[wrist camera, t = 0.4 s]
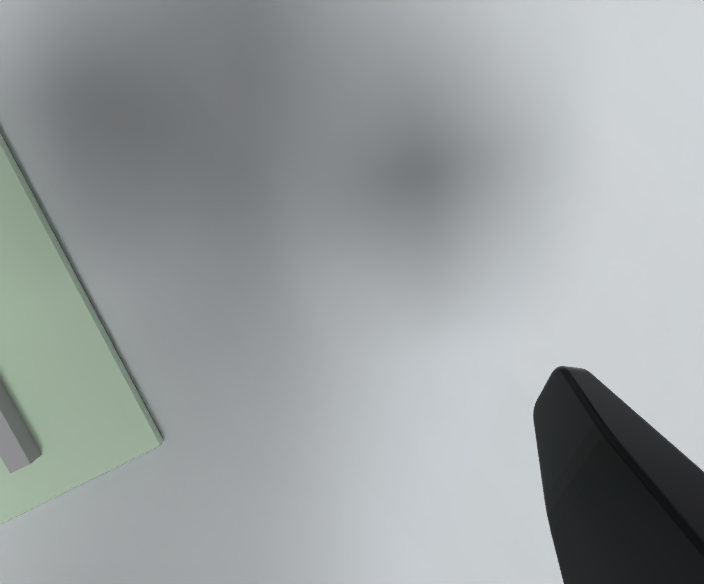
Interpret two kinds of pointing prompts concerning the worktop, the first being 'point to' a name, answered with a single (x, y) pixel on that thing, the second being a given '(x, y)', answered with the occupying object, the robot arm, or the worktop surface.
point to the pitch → (54, 366)
